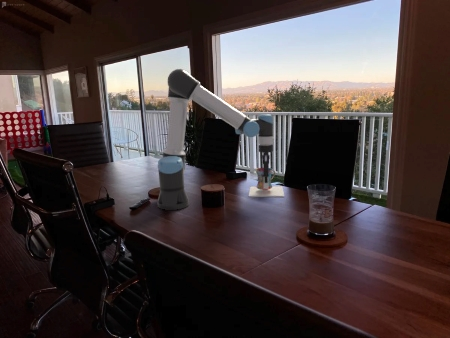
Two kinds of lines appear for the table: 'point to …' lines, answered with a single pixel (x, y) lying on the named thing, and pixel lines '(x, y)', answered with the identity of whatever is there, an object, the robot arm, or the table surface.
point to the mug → (260, 179)
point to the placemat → (267, 192)
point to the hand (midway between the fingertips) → (266, 186)
